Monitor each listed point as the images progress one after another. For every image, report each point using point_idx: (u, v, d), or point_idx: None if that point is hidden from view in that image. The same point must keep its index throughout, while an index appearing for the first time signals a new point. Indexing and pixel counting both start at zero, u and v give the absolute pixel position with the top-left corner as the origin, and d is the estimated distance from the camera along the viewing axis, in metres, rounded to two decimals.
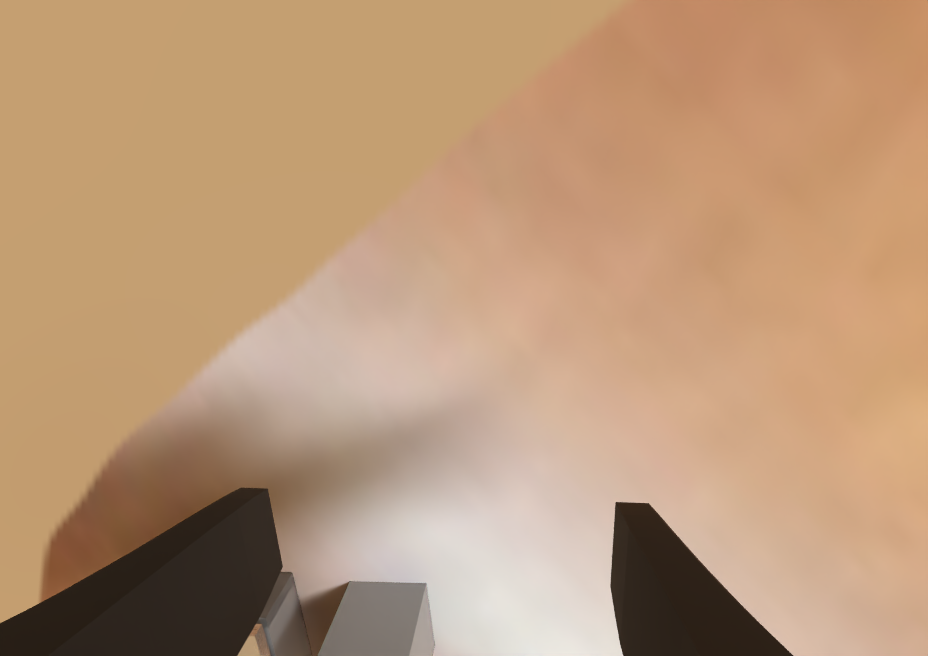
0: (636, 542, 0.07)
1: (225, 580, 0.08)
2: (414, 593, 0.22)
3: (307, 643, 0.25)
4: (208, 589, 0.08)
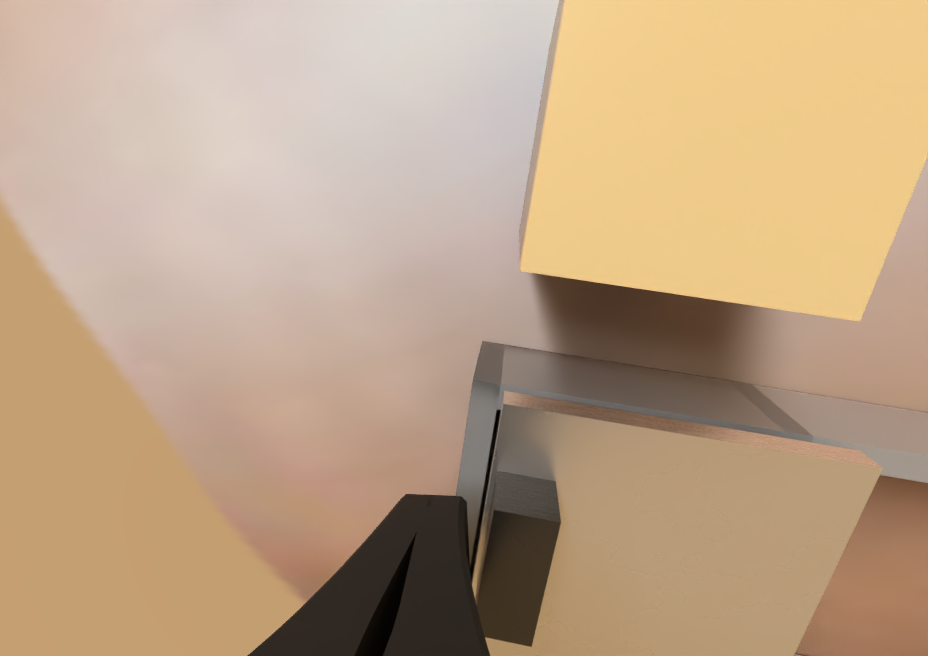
0: (417, 531, 0.08)
1: None
2: None
3: (658, 371, 0.12)
4: None
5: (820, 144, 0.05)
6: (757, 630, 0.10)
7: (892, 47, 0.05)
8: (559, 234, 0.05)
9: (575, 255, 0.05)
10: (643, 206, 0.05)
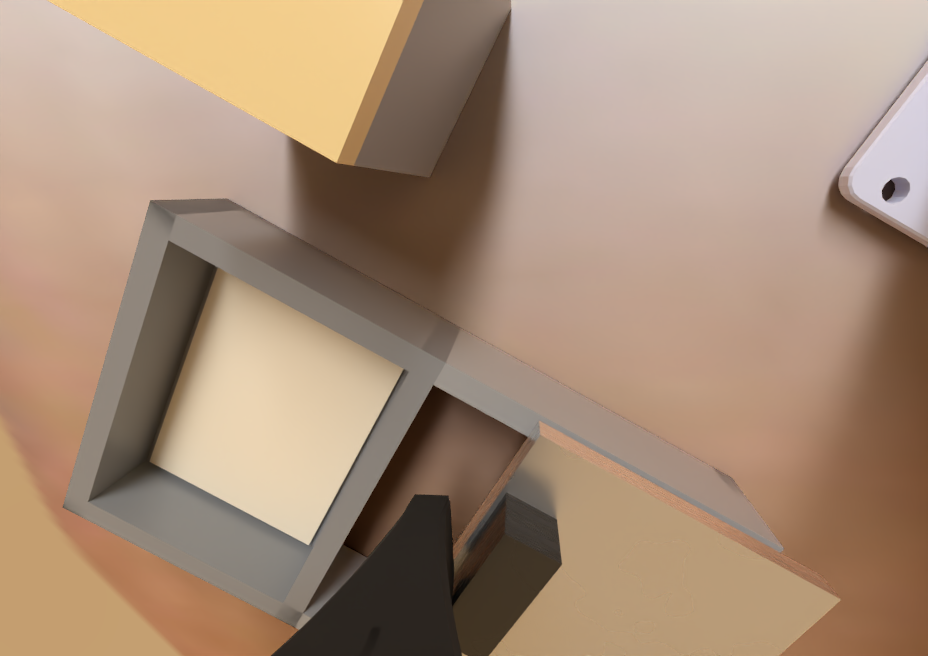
0: (397, 530, 0.08)
1: None
2: None
3: (380, 286, 0.12)
4: None
5: None
6: None
7: None
8: None
9: None
10: None
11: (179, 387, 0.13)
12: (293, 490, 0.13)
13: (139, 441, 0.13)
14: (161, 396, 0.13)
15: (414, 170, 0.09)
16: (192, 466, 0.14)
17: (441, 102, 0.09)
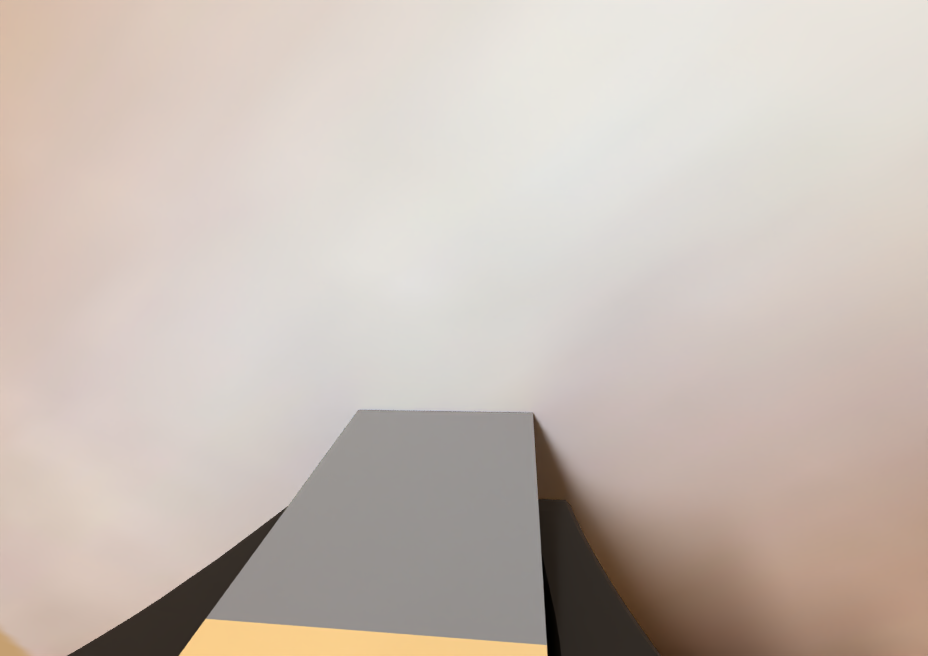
0: None
1: None
2: None
3: None
4: None
5: None
6: None
7: None
8: None
9: None
10: None
11: None
12: None
13: None
14: None
15: None
16: None
17: None
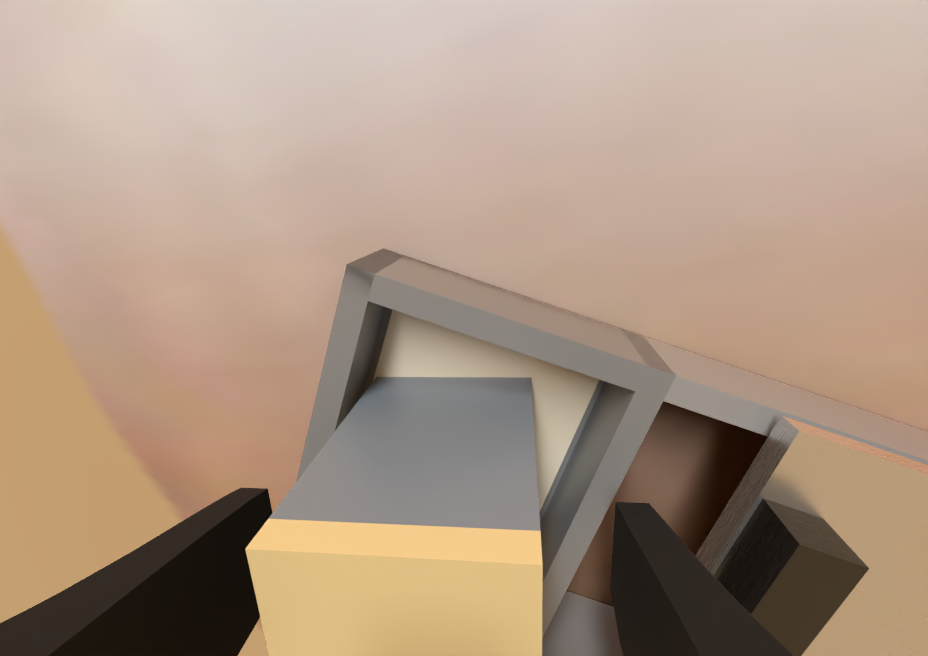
0: (636, 542, 0.07)
1: (225, 580, 0.08)
2: None
3: (554, 307, 0.11)
4: (208, 590, 0.08)
5: None
6: None
7: (488, 636, 0.06)
8: None
9: None
10: None
11: None
12: None
13: None
14: None
15: None
16: None
17: None
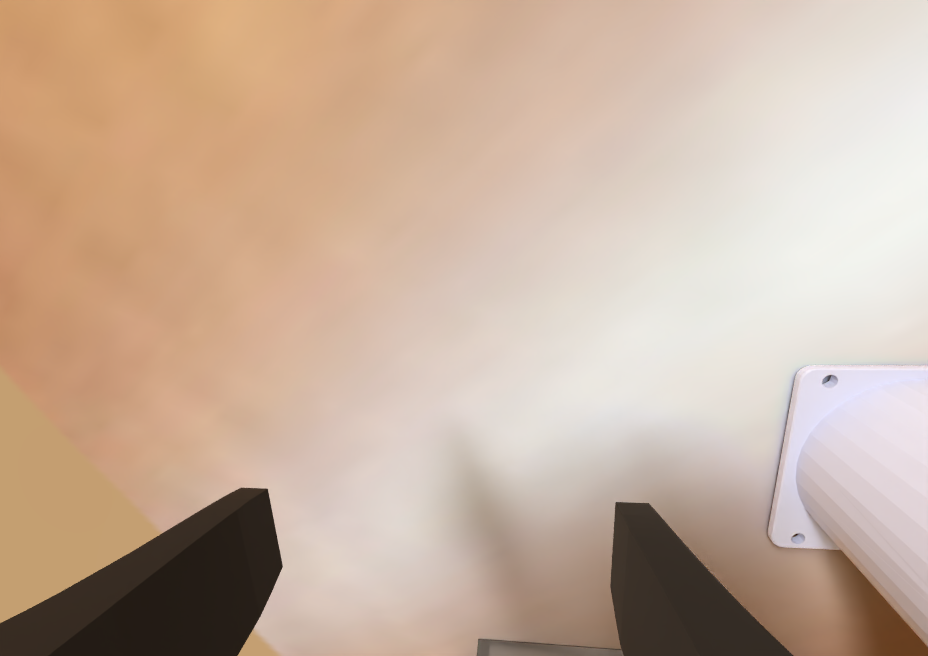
0: (636, 542, 0.07)
1: (225, 580, 0.08)
2: None
3: (571, 649, 0.22)
4: (207, 590, 0.08)
5: None
6: None
7: None
8: None
9: None
10: None
11: None
12: None
13: None
14: None
15: None
16: None
17: None
